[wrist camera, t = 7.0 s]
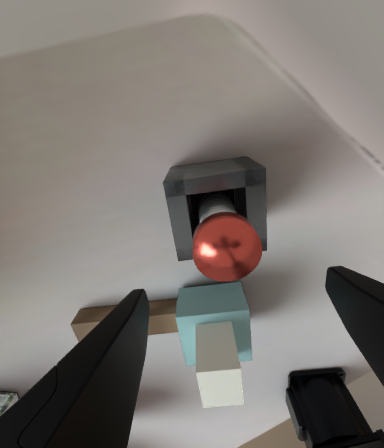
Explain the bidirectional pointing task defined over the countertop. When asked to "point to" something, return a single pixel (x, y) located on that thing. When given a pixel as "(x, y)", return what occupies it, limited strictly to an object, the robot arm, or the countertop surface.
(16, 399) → the syrup box
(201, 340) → the carriage
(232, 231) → the red and grey cylinder
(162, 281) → the countertop surface
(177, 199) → the dark grey box
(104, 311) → the rail
